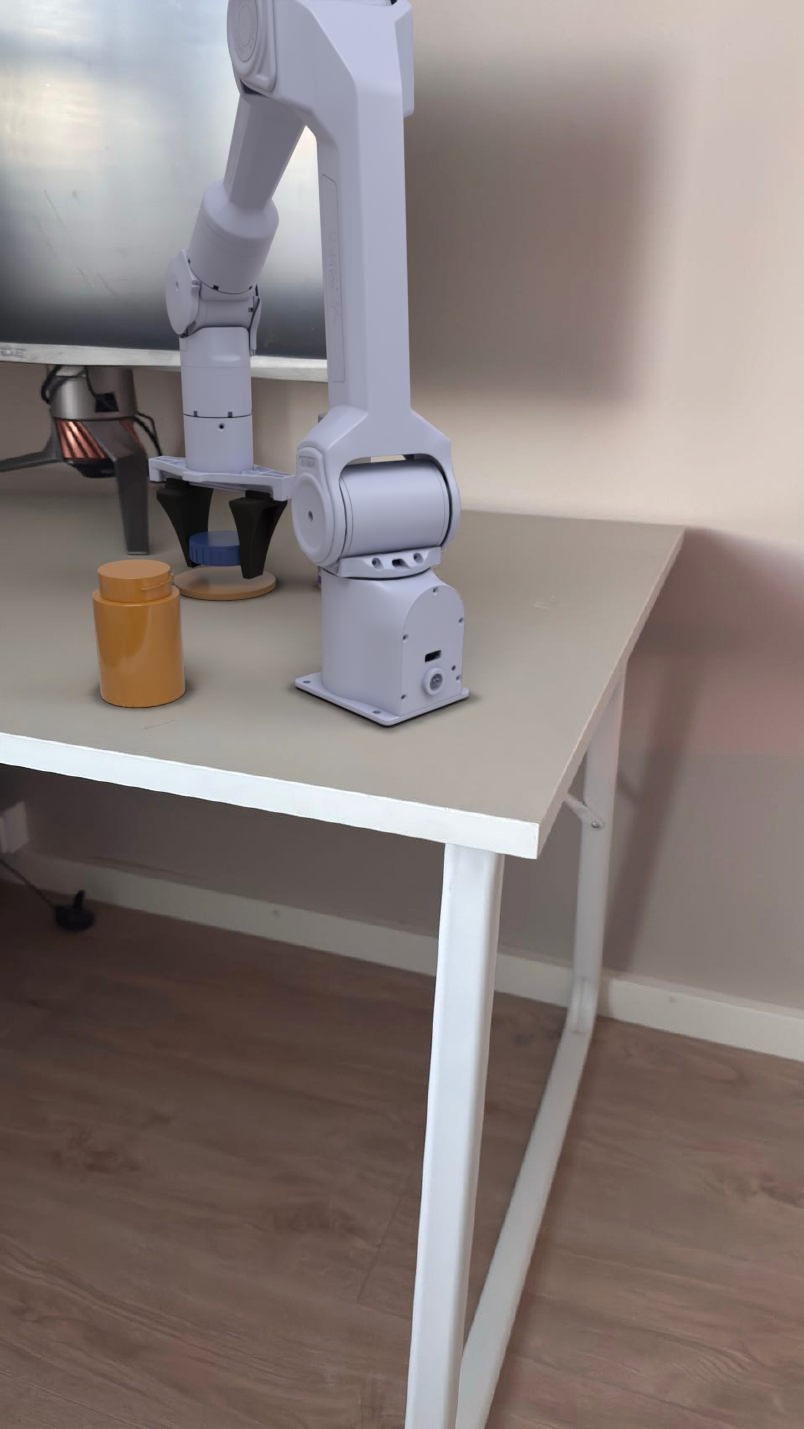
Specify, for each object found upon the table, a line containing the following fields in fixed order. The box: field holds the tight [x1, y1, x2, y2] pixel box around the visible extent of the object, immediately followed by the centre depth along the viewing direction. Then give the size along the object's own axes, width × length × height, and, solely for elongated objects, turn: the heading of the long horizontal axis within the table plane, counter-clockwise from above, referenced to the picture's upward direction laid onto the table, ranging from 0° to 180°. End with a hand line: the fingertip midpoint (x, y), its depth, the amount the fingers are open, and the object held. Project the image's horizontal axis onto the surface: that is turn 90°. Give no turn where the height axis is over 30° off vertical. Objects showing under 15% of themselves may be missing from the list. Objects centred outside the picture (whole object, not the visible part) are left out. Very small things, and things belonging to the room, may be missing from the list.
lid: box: [189, 529, 241, 567], centre depth 95 cm, size 6×6×2 cm
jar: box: [91, 558, 186, 708], centre depth 71 cm, size 6×6×9 cm
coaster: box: [173, 565, 277, 601], centre depth 96 cm, size 9×9×1 cm
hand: (224, 570), depth 96 cm, fingers closed on lid, 6 cm apart
